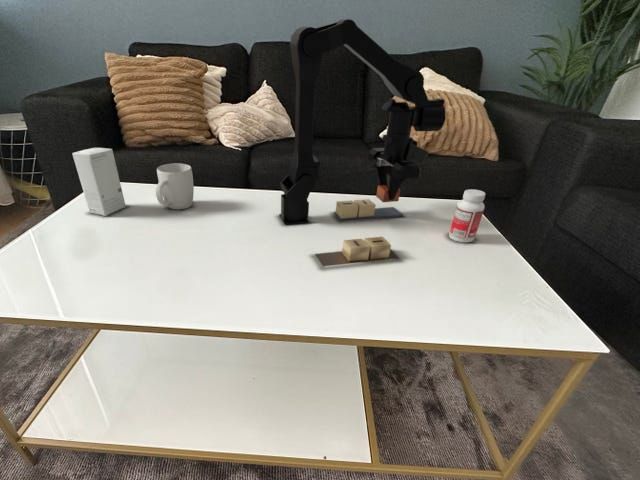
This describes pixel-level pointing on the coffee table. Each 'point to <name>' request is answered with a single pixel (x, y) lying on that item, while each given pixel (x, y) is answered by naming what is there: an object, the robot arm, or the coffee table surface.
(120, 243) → the coffee table surface
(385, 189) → the red wooden cube
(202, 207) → the coffee table surface
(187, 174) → the mug
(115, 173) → the cosmetic box
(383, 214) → the far word
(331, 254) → the near word
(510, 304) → the coffee table surface
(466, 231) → the pill bottle
